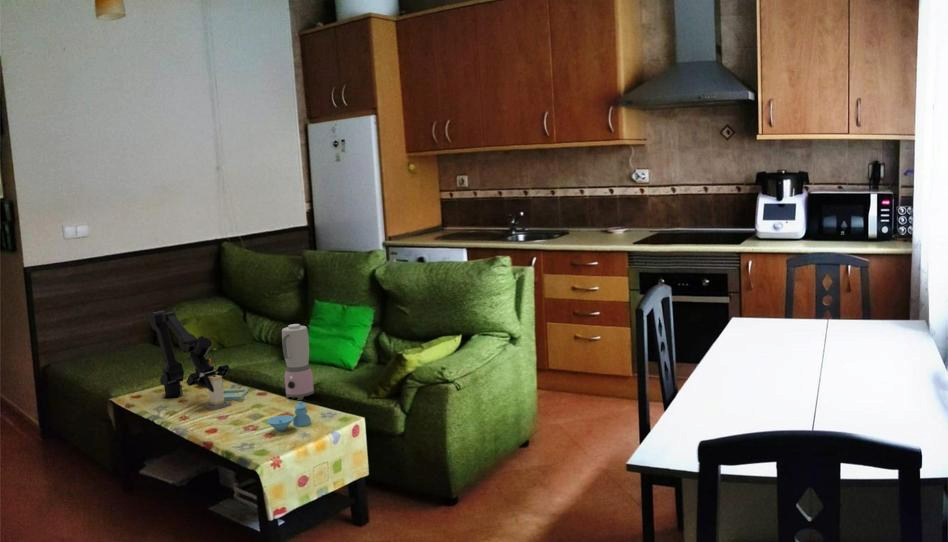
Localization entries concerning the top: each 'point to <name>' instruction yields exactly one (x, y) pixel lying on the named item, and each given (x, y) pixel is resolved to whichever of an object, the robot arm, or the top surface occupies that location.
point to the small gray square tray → (217, 405)
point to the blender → (297, 361)
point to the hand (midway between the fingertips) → (217, 390)
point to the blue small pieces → (291, 418)
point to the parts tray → (232, 396)
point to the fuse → (216, 390)
